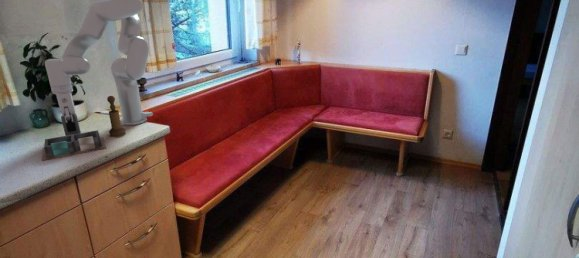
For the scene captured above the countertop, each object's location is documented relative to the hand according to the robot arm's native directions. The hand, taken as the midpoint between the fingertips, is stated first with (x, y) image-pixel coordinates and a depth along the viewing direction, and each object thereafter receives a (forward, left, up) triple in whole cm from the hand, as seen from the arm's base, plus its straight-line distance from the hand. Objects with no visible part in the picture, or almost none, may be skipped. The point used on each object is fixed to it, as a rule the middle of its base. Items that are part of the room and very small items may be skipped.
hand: (71, 128), depth 151 cm
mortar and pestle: (-17, +6, -5) cm, 19 cm away
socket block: (0, +14, -5) cm, 15 cm away
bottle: (0, 0, -5) cm, 5 cm away
